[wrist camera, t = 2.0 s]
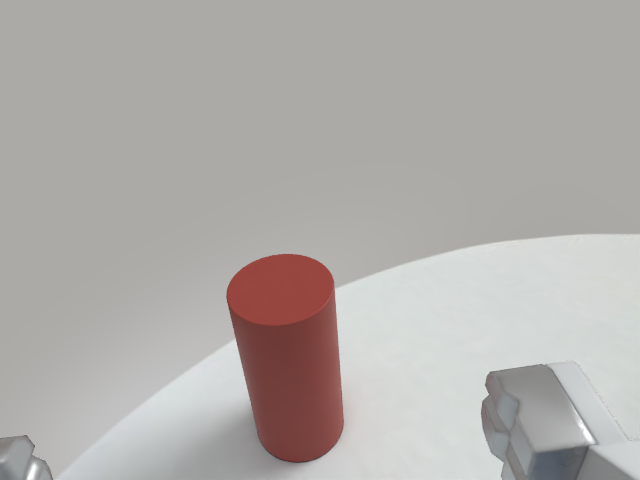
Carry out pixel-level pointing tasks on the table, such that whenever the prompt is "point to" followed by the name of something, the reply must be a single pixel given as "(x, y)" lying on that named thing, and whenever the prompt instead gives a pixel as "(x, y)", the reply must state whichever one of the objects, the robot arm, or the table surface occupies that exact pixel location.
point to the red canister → (289, 353)
